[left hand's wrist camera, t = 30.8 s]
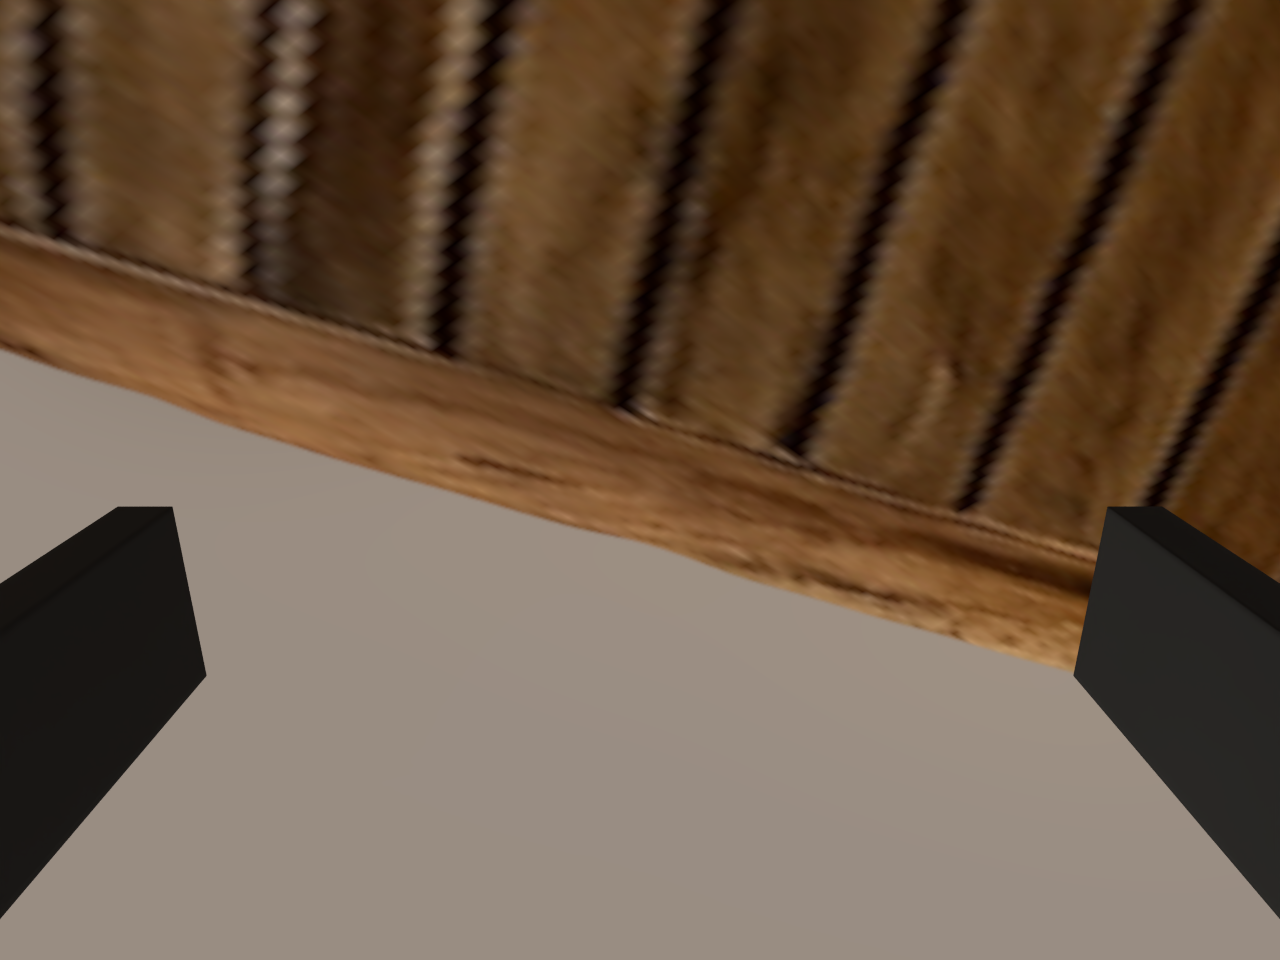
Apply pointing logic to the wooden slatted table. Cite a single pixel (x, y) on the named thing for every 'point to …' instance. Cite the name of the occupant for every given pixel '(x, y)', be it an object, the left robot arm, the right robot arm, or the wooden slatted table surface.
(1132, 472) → the wooden slatted table surface
